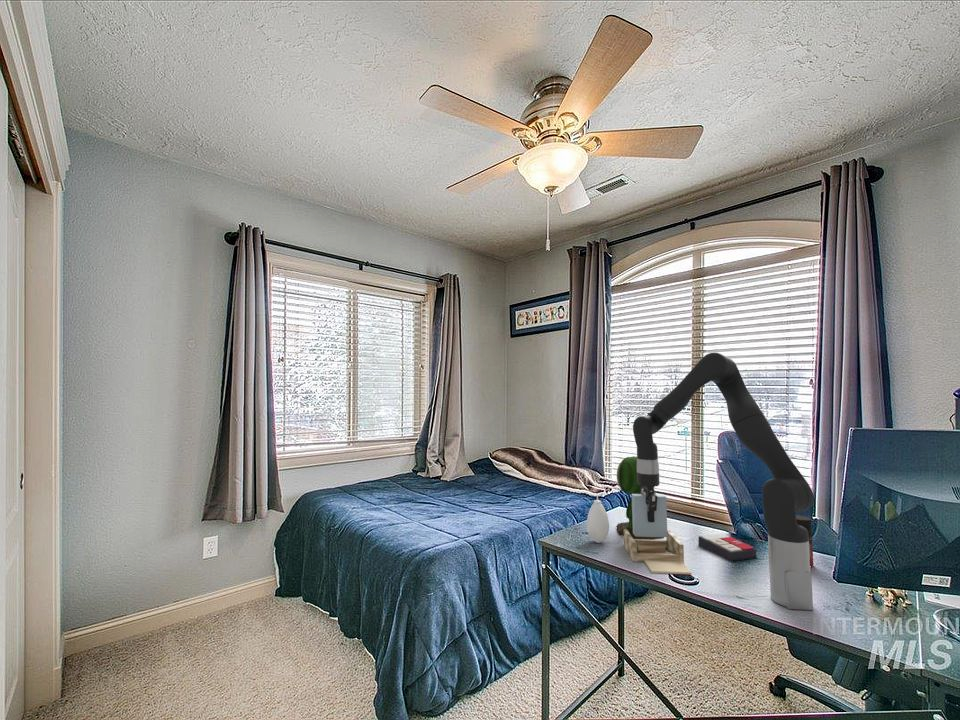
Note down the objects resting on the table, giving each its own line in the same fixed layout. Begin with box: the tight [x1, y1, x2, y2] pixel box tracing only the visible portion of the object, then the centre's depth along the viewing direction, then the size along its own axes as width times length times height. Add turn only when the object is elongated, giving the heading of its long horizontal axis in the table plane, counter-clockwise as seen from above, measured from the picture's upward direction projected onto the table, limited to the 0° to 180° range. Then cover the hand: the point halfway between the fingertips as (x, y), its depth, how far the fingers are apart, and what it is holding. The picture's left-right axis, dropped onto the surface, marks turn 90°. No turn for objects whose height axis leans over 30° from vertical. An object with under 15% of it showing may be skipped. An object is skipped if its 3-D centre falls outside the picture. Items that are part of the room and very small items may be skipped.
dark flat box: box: [697, 532, 757, 561], centre depth 158 cm, size 11×4×15 cm
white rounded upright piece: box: [586, 493, 610, 544], centre depth 168 cm, size 8×8×18 cm
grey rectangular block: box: [631, 493, 668, 538], centre depth 159 cm, size 4×11×14 cm, turn 84°
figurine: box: [615, 456, 665, 540], centre depth 179 cm, size 17×20×30 cm
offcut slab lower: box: [640, 551, 672, 554], centre depth 151 cm, size 3×10×2 cm, turn 84°
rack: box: [623, 529, 685, 564], centre depth 156 cm, size 15×16×6 cm
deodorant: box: [796, 514, 814, 567], centre depth 147 cm, size 6×6×15 cm
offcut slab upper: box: [636, 545, 667, 553], centre depth 154 cm, size 3×9×2 cm
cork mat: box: [643, 560, 692, 575], centre depth 144 cm, size 9×12×1 cm
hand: (649, 520), depth 159 cm, fingers closed on grey rectangular block, 3 cm apart
